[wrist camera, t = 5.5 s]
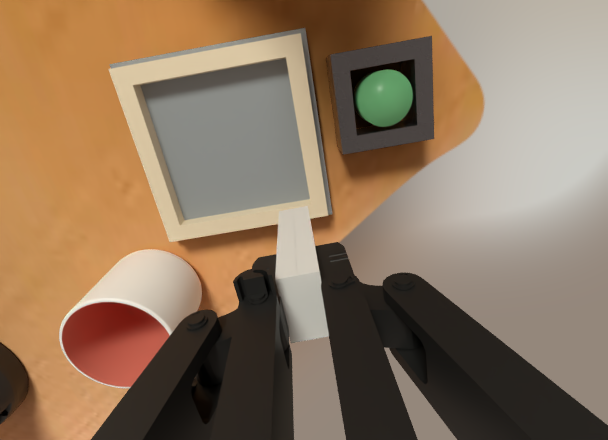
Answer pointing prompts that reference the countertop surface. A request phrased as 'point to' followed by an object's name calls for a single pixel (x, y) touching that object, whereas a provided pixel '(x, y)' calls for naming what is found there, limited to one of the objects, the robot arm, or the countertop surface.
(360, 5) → the countertop surface
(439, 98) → the countertop surface
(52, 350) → the countertop surface
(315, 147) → the tray
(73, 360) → the cup
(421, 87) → the dark grey square box
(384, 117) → the button
